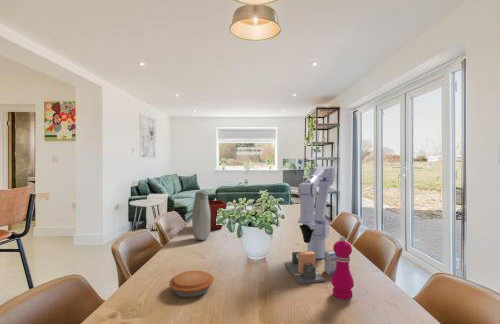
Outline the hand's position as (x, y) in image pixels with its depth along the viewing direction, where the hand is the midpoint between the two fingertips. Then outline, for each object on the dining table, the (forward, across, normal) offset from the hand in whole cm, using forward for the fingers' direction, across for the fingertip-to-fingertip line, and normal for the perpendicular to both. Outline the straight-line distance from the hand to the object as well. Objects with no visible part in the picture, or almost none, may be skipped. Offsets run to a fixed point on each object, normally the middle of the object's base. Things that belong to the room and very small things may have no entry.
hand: (306, 242), depth 120 cm
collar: (+9, +10, -4) cm, 14 cm away
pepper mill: (+11, +25, +4) cm, 28 cm away
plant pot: (+10, -74, -40) cm, 85 cm away
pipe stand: (+10, +5, -4) cm, 12 cm away
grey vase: (+10, -48, -46) cm, 67 cm away
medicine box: (+11, +8, +10) cm, 16 cm away
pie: (+12, +13, -48) cm, 51 cm away
